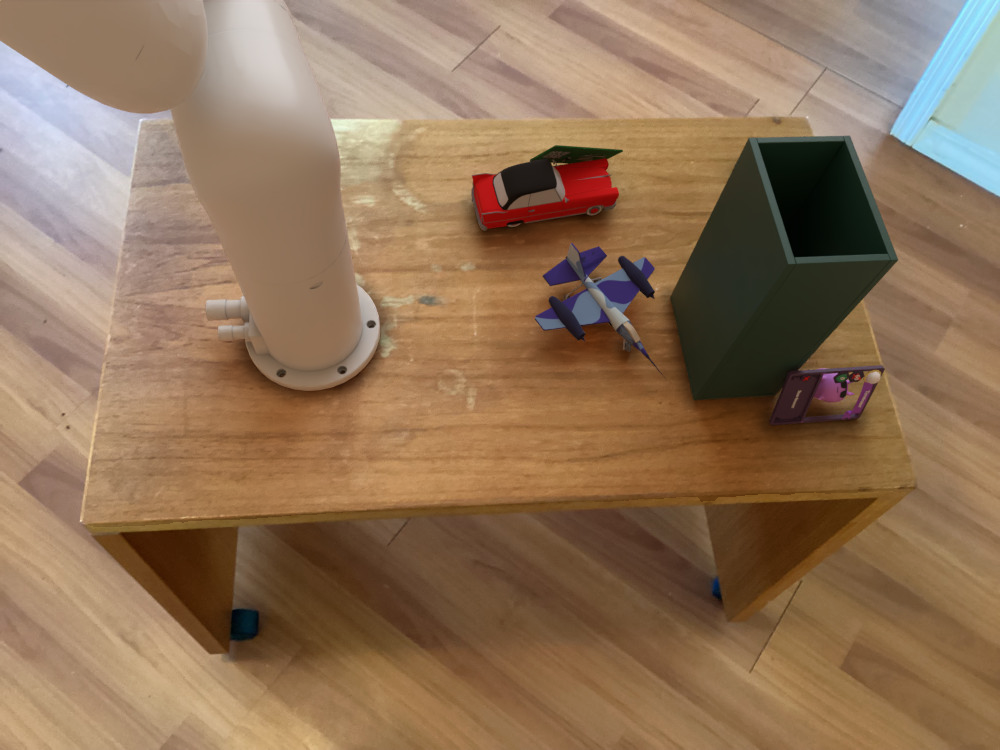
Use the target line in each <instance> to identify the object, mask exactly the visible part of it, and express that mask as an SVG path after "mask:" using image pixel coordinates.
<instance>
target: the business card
mask: <svg viewBox="0 0 1000 750" xmlns="http://www.w3.org/2000/svg"><path fill="white" fill-rule="evenodd" d="M623 152H624V150H623V149H617V148H602V147H587V146H577V145H576V146H574V145H558V144H555V145H554V146H551V147H549V148H548V149H545V150H543V152H541V153H539V154H537V155H535V156H534V157H532V158H530V159H529V162H531V161H535V160H542V159H548V160H549V161H550V162H551V164H553V159H554V160H555V161H557V162H555V164H570V163H577V162H584V161H591V160H597V159H604V158H607V160H609V159H610V158H613V157H615V156H618V155H619V154H621V153H623Z"/></svg>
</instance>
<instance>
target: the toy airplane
mask: <svg viewBox="0 0 1000 750" xmlns="http://www.w3.org/2000/svg"><path fill="white" fill-rule="evenodd" d="M607 257H608V255H607V253H606V252H605V251H604V250H603V249H602V248H601V247H600V245H598V246H596V247H592V248H589V249H587V250H583V251H579V249H578V248H577V246H575V244H574V243H573V242H570V243H569V246H568V251H567V255H566V256H565V258H564V259H563V260H561V261H560V262H558V263H557V264H556V265H555V266H553V267H552V268H551V269H549V270H547V272H545V273H544V274H542V278H543V279H544V280H545V282H546V283H547V284H548V286H549V287H554V286H559V285H562V284H564V285H565V284H568V283H575V282H577V281H580V282H581V283H580V284H579V285H577V286H576V287H575V288H574V289H572V290H571V291H569V293H567V294H564V295H563V300H562V301H561V300H560V299H559V298H558V297H557V296H555V295H551V296H550V297H549V298H548V300H547V301H548V303H549V305H550V308H549V307H548V309H546V310H544V311H542V312H540V313H538V314H536V315H535V316H534V320H535V322H536V323H537V324H538V326H539V327H540V328H541V329H542V330H543V331H544V332H546V331H553V330H561V329H562V330H563V329H565V330H566V331H567V332H569V334H570V335H571V336H573V338H575V340H576V341H583V342H585V343H586V339H585V337H586V334H587V333H586V332H585V331H584V329H583V327H585V326H593V325H602V324H608V325H609V326H611V327H612V328H613V329H614V331H615V333H616V334H617V335H619V336H620V337H621V338H622V339H623V343H622V350H623V351H625V352H627V353H630V352H631V351H632V346H633V347H634V348H635V349H636V350H637V351H639V353H641V354H642V355H643V356H644V357H645V358H646V359H647V360H648V361H649V362H650V363H651V364H652V366H654V367H655V369H656V370H657V371H658V372H659V373H660V375H662V377H663V378H664V379H666V377H665V376H664V375H663V373H662V372H661V370H660V369H659V368H658V366H657V365H656V364H655V363H654V362H653V360H652V359H651V357H650V356H649V353H648V351H647V349H645V347H644V345H643V343H642V341H641V337H640V336H639V334H638V332H637V331H636V329H635V328H634V325H633V323H632V322H631V320H630V319H629V318H628V317H627V316H626V315H625V314H624V313H625V311H626V310H627V309H628V307H629V306H630V304H631V303H632V302H633V301H634V299H635V298H636V296H637V295H638V293H639V292H640V293H641V294H642V295H643V296H644V297H645V298H646V299H650V298H651V299H653V300H655V299H656V298H655V295H654V294H655V293H656V290H654V287H653V286H652V285H651V283H650V282H649V278H650V277H651V275H652V274H653V273H654V271H655V270H656V268H655V266H654V265H653V264H652V263H651V262H650V261H649V259H647V257H641V258H639V259H636V261H634V262H633V261H631V260H630V259H629V258H627V257H626V256H624V255H620V256H619V257H618V258H617V263H618V264H619V266H620V268H621V269H619V270H616V271H615V272H612V273H611V274H609V275H608V276H606V277H604V278H602V276H599V277H596V278H590V277H589V276H590V275H591V274H592V273H593V272H594V271H595V270H596V269H597V267H599V266H600V265H601V263H602V262H603V261H604V260H605V259H607ZM582 286H584V287H585V289H583V290H581V291H580V292H577V293H576V294H574V295H572V294H573V293H574V292H576V291H577V290H578V289H580V288H581V287H582ZM570 295H571V296H570Z"/></svg>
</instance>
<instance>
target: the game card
mask: <svg viewBox="0 0 1000 750" xmlns="http://www.w3.org/2000/svg"><path fill="white" fill-rule="evenodd" d="M885 370H886V368H885V366H884V365H883V364H880V365H879V364H877V365H863V366H849V367H833V368H825V367H821V368H816V369H802V370H801V369H799V370H798V371H790V372H789V373H788V375H787V377H786V380H785V382H784V385H783V387H782V388H781V390H780V391H779V392H780V393H779V395H778V397H777V400H776V402H775V405H774V407H773V410H772V412H771V415H770V417H769V419H768V422H769V423H770V426H778V425H793V424H807V423H808V424H809V423H821V422H835V421H836V422H837V421H848V420H849V421H850V420H859V419H860V418H861V417H862V415H863V413H864V410H865V409H866V407H867V405H868V404H869V401H870V400H871V397H872V396H873V393H874V392H875V389H876V388H877V386H878V384H879V382H880V380H881V379H882V376H883V374H884V372H885ZM865 372H866V373H865ZM850 373H851V374H850ZM862 379H863V381H864V382H863V384H862V387H861V390H860V394H859V396H858V398H857V400H856V402H855V404H854V407H853V408H852V409H851V410H847V411H845V412H844V413H843V414H831V415H830V414H829V415H816V416H807V413H808V410H809V408H810V407H811V404H812V402H813V400H814V399H816V400H818V401H823V402H825V403H842V402H841V401H843V402H847V400H846V399H845V398H846V396H850V397H851V396H854V395H855V393H854V392H851V391H849V385H850V384H853V383H859V382H860V381H861V380H862Z"/></svg>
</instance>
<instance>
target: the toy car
mask: <svg viewBox="0 0 1000 750" xmlns="http://www.w3.org/2000/svg"><path fill="white" fill-rule="evenodd" d="M555 162H557V161H555V160H554V159H553V163H551V162H550V161H549V160H548V159H542V160H535V161H531V162H530V161H527V162H526V161H525V162H521V163H518V164H514V165H511V166H508V167H505V168H504V169H502V170H500V171H499V172H498V173H487V172H484V173H483V172H482V173H476V174H472V175H471V178H472V187H471V193H470V194H471V195H470V196H471V202H472V203H473V207H474V208H473V209H474V212H475V215H476V223H477V224H478V227H479V228H480V229H481V230H482V231H484V232H485V231H487V230H490V229H496V228H502V227H503V228H504V227H509V228H514V227H515V228H516V227H518V226H520V225H521V224H530V223H536V222H543V221H549V220H554V219H559V218H561V219H562V218H566V217H572V216H573V217H574V216H577V215H579V216H580V215H584V214H586V215H587V216H597V214H600V213H601V212H602V210H603V211H605V212H607V211H610V210H613V209H614V208H615V207H616V206H617V200H618V199H619V196H620V191H619V189H618V187H616V186H614V187H613V183H612V182H613V181H612V179H611V176H612V174H609V172H608V171H607V170H608V169H609V166H610V165H609V164H610V163H609V159H607V158H604V159H597V160H591V161H584V162H577V163H570V164H565V163H562V164H558V163H555Z"/></svg>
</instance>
